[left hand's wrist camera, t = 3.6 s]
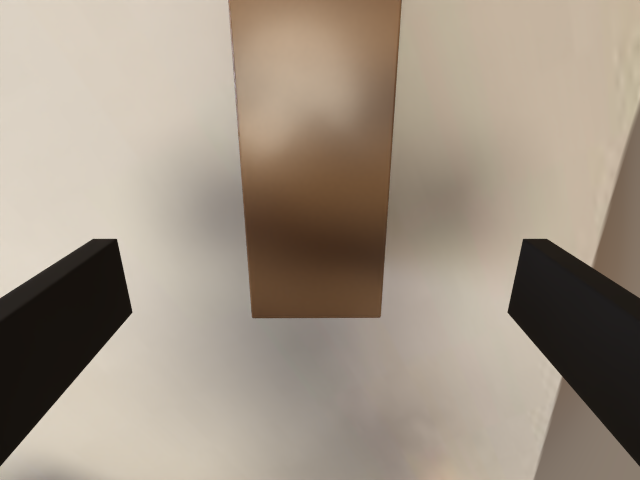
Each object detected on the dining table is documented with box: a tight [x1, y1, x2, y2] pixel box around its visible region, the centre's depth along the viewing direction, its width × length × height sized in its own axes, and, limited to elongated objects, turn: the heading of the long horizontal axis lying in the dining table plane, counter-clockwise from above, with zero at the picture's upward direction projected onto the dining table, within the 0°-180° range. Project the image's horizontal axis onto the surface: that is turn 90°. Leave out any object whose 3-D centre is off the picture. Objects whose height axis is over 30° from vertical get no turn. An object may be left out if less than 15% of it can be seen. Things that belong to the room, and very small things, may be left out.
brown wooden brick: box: [228, 0, 402, 318], centre depth 17 cm, size 19×6×8 cm, turn 0°
